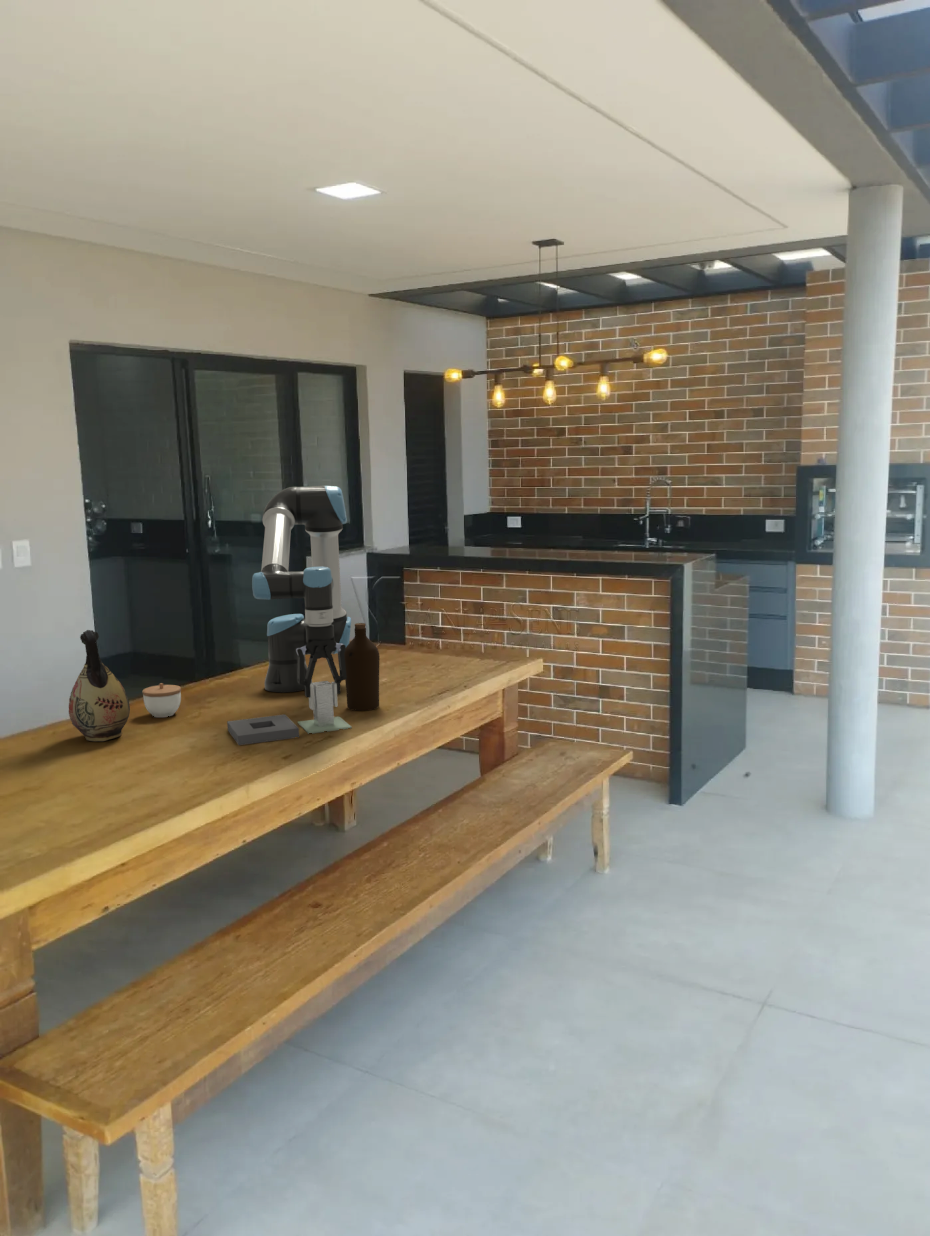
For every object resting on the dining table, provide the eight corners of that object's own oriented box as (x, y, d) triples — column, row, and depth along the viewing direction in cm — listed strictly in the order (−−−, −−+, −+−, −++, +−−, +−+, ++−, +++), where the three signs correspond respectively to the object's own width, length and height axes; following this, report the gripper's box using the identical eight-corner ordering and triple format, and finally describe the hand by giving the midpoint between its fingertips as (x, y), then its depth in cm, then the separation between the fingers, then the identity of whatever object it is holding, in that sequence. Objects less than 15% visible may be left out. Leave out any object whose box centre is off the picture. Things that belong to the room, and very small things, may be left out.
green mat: (297, 723, 279) (297, 721, 279) (339, 718, 284) (339, 716, 284) (308, 734, 269) (308, 732, 268) (351, 728, 273) (351, 726, 273)
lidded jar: (190, 712, 295) (188, 681, 293) (165, 721, 285) (162, 689, 284) (161, 708, 299) (159, 678, 298) (136, 717, 290) (133, 686, 288)
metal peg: (314, 723, 277) (311, 682, 275) (329, 720, 279) (327, 680, 277) (318, 727, 273) (315, 686, 271) (334, 724, 275) (331, 684, 273)
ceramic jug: (70, 734, 274) (60, 626, 269) (129, 727, 280) (120, 621, 275) (72, 750, 258) (62, 636, 253) (135, 742, 264) (126, 630, 259)
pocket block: (227, 730, 274) (227, 721, 274) (285, 723, 280) (284, 714, 280) (238, 745, 259) (238, 735, 259) (299, 737, 266) (298, 728, 265)
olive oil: (379, 711, 291) (376, 626, 287) (343, 712, 291) (339, 627, 287) (382, 702, 301) (379, 620, 297) (347, 703, 301) (344, 621, 297)
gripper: (288, 629, 265) (292, 714, 268) (357, 623, 272) (360, 706, 276) (282, 625, 272) (286, 708, 275) (349, 619, 279) (352, 700, 283)
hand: (323, 706), depth 275 cm, fingers open, 6 cm apart
